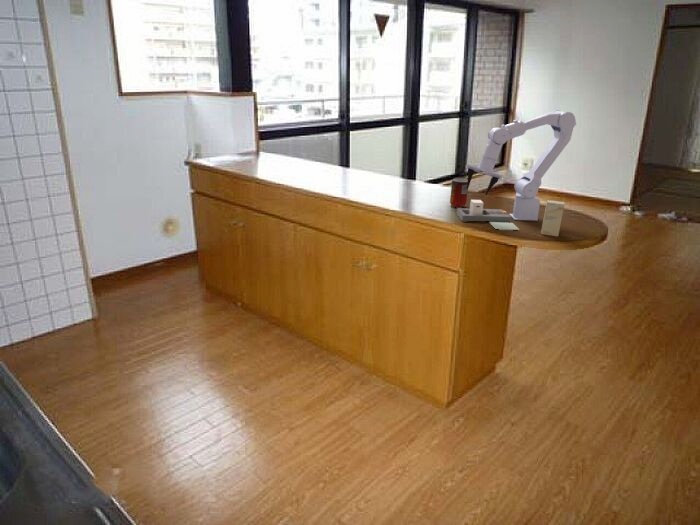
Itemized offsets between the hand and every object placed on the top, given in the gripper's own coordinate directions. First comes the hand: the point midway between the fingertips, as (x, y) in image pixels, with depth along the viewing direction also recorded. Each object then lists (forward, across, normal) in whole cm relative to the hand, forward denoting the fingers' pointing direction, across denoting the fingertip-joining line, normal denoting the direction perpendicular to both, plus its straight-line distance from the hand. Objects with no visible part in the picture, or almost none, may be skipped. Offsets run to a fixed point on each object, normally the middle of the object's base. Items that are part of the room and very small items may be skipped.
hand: (476, 191), depth 203 cm
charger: (+10, +3, +1) cm, 11 cm away
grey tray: (+10, +6, +2) cm, 11 cm away
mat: (+8, +14, -8) cm, 18 cm away
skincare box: (+5, +30, -12) cm, 33 cm away
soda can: (+11, -4, +18) cm, 21 cm away
